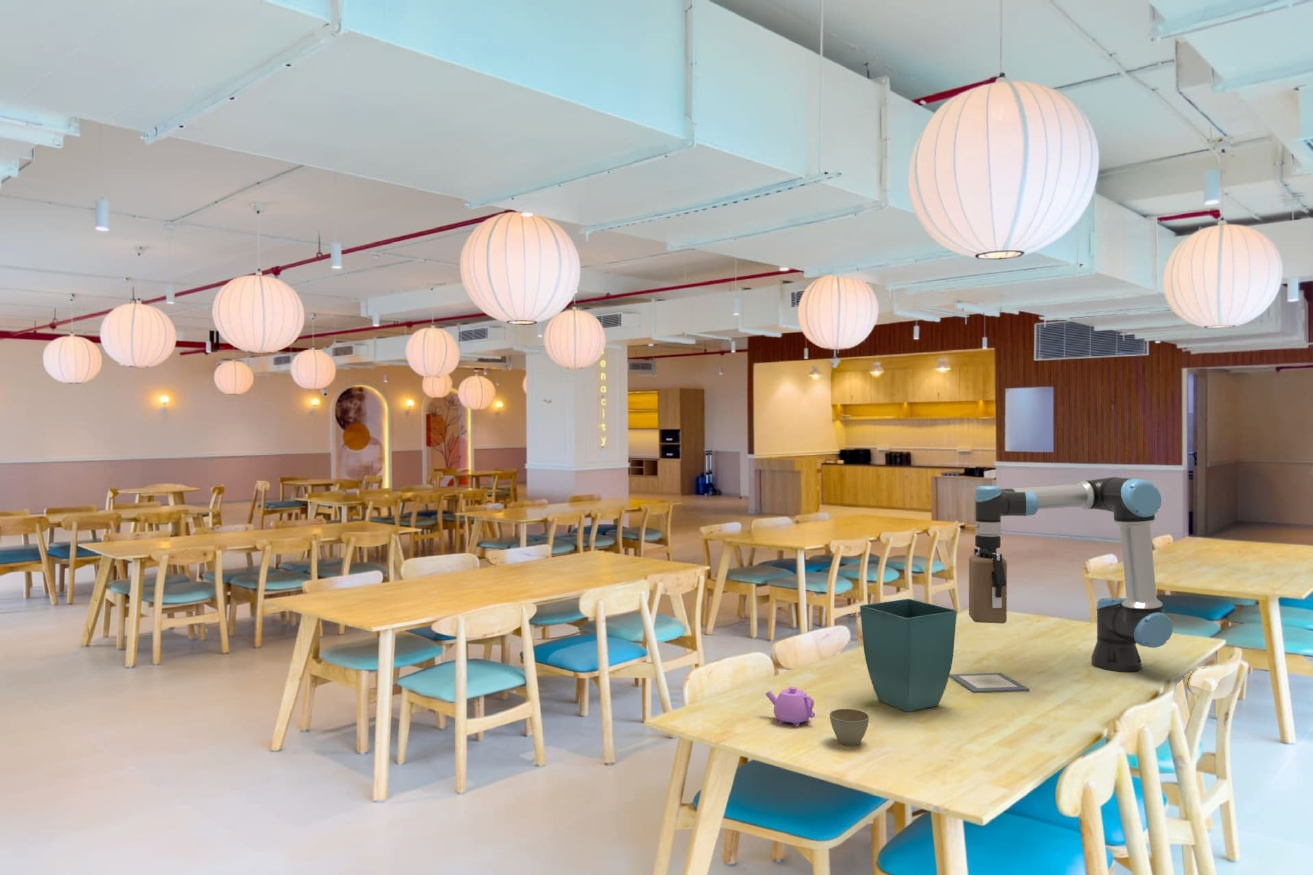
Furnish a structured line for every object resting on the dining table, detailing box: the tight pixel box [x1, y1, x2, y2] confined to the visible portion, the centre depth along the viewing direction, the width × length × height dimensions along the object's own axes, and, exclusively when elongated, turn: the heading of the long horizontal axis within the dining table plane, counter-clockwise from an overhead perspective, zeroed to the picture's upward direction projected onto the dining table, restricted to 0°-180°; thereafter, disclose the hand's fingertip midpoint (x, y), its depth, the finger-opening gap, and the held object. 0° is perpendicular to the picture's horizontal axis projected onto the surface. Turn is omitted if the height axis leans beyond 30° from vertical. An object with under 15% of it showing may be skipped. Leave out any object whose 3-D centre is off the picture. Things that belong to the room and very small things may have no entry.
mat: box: [949, 672, 1031, 694], centre depth 275 cm, size 18×18×1 cm
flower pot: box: [859, 598, 958, 712], centre depth 255 cm, size 20×20×28 cm
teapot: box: [764, 686, 816, 726], centre depth 240 cm, size 10×15×9 cm
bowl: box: [829, 708, 870, 746], centre depth 224 cm, size 10×10×7 cm
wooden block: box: [968, 554, 1008, 624], centre depth 275 cm, size 10×10×20 cm
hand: (987, 603), depth 275 cm, fingers closed on wooden block, 11 cm apart
